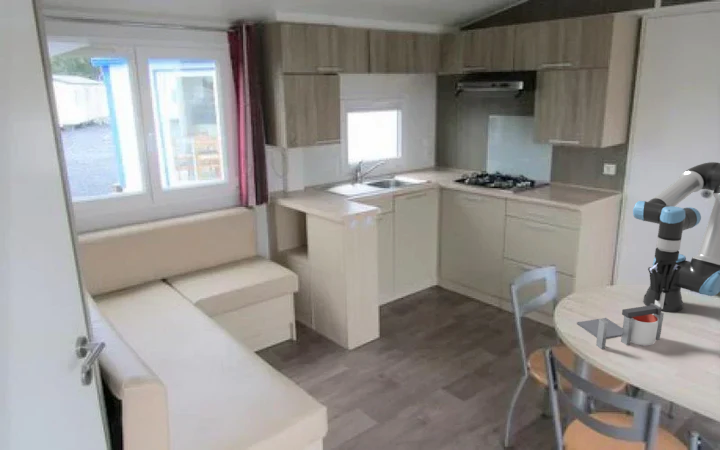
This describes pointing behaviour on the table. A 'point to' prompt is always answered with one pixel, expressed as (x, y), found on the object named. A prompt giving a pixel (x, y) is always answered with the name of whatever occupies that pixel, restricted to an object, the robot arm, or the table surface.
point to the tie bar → (642, 311)
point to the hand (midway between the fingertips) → (658, 307)
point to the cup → (644, 330)
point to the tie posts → (623, 330)
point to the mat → (592, 327)
